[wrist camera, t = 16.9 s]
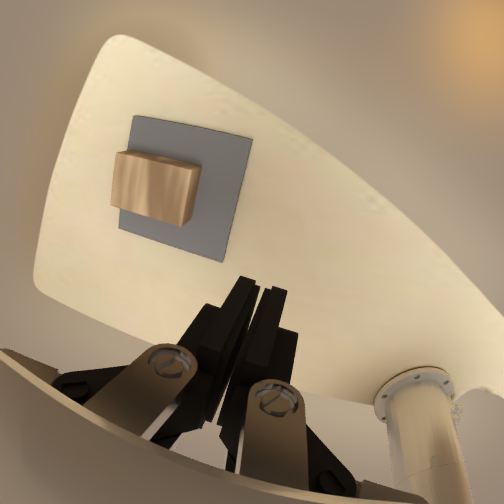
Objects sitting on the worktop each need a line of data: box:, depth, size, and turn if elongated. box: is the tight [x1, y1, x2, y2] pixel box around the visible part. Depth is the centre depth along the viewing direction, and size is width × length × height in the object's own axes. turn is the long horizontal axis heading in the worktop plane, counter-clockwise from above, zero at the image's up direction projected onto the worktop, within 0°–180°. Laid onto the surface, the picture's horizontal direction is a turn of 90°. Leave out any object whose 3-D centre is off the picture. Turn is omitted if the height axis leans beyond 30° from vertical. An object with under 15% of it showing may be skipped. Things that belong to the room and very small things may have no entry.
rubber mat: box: [118, 116, 253, 263], centre depth 33 cm, size 14×14×1 cm
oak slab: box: [110, 150, 202, 227], centre depth 32 cm, size 3×6×9 cm
